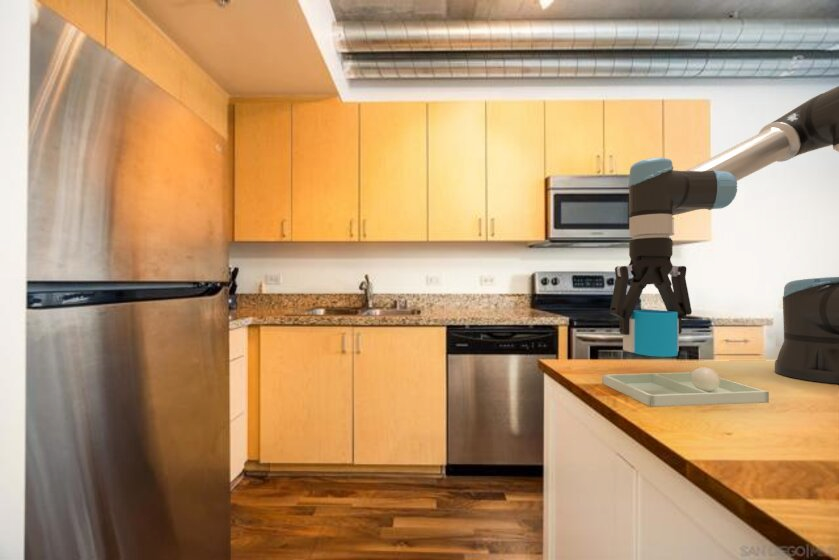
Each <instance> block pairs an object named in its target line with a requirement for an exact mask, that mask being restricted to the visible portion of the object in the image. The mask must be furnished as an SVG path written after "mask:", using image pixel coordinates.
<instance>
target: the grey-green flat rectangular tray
mask: <svg viewBox="0 0 839 560" xmlns="http://www.w3.org/2000/svg"><path fill="white" fill-rule="evenodd" d="M692 372H693V371H686V372H685V371H682V372H681V371H680V372H679V371H678V372H650V373H648V372H647V373H621V374H619V373H616V374H615V373H613V374H612V373H611V374H602V375H601V377H602V379H601V380H602V384H603V385H604V386H607V387H609V388H610V389H613V390H615V391H617V392H619V393H621V394H623V395H626V396H627V397H629V398H632V399H633V400H636V401H638V402H639V403H641V404H644V405H646V406H649V407H650V408H651V407H653V408H656V407H679V406H680V407H681V406H683V407H684V406H685V407H686V406H703V405H704V406H705V405H706V406H708V405H710V406H711V405H730V404H731V405H732V404H733V405H736V404H760V403H769V401H770V400H769V399H770V394H769V393H770V392H769V391H767V390H763V389H760V388H757V387H753V386H750V385H746V384H744V383H741V382H736V381H733V380H730V379H727V378H723V377H720V376H719V379H720V383H719V386H718V387H717V388H716V389H715V390H713V391H703V390H700V389H698V388H696V387H695V386H694V385H693V383H692V381H691V374H692Z"/></svg>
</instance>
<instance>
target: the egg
mask: <svg viewBox="0 0 839 560" xmlns="http://www.w3.org/2000/svg"><path fill="white" fill-rule="evenodd" d="M691 372H692V374H691V381H692V383H693V385H694V386H695V387H696V388H698V389H700V390H703V391H713V390H715V389H716V388H717V387H718V386H719V383H720V379H719V377H720V376H719V374H718V373H717V371H715V370H714V369H712V368H709V367H705V366H700V367H698V368H695V369H694V370H693V371H691Z"/></svg>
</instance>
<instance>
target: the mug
mask: <svg viewBox="0 0 839 560" xmlns="http://www.w3.org/2000/svg"><path fill="white" fill-rule="evenodd" d="M630 319H635V352H631V353H633V354H636V355H641V356H649V357H666V358H667V357H668V358H669V357H677V356H678V353H679V351H678V312H673V311H667V310H659V309H658V310H657V309H654V310H652V309H634V311H633V313H632V315H631V317H630Z"/></svg>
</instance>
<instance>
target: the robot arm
mask: <svg viewBox="0 0 839 560" xmlns="http://www.w3.org/2000/svg"><path fill="white" fill-rule="evenodd" d="M830 146H832V149H833V150H834V151H836V152H838V153H839V85H838V86H836V87H834V88H831V89H829V90H827V91H825V92H824V93H823V92H822V93H820V94H818V95H816V96H814V97H812V98H810V99H808V100H807V101H805V102H804V103H802V104H800V105H798V106H797V107H794V109H792V110H790V111H789V112H787V113H786V114H784V115H782V116H781V117H778V118H777V119H775V120H773V121H771V122H770V123H768V124H766V125H764V126H763V127H762V128H761V129H760V131H759V132H758V134H756V135H754V136H752V137H750V138H748V139H746V140H744V141H742V142H740V143H739V144H736V145H734V146H732V147H731V148H729V149H726V150H724V151H722V152H721V153H719V154H717V155H715V156H713V157H710V158H708V159H707V160H705V161H702V162H700V163H698V164H697V165H695V166H693V167H691V168H689V169H687V170H674V166H673V162H672V159H670V158H666V157H652V158H646V159H641V160H639V161H637V162H635V163H634V164H632V165H631V167H630V170H629V176H628V187H627V188H628V202H629V203H628V205H629V209H628V210H629V211H628V212H629V218H628V219H629V222H628V223H629V225H628V226H629V227H628V228H629V230H628V231H629V237H630V238H632V239H630V241H628V243H629V245H628V249H629V250H628V252H629V253H628V255H629V259H630V262H629V264H628V265H620V266H618V265H617V266H615V267H614V274H615V280H614V287H613V292H612V298H611V302H610V306H609V307H610V308H609V314H610V315H613V316H615V317H617V318H619V333H620V335H622V351H625V352H629V353H632V352H635V319H630V317H631V315H632V313H633V311H634V310H636V309H635V308H636V305H637V304H638V301H639V299H640V297H641V295H642V292H643V290H644V289H645V288H646V287H647V285H654V287H655V288H656V289H657V291H658V293H659V295H660V298H661V299H662V302H663V305H664V307H665V309H666V311H673V312H678V352H679V351H680V350H679V347H680V346H679V345H680V344H679V343H680V341H679V339H680V337H679V335H681V334H682V323H683V322H682V320H683V319H686V318H687V316H691V314H692V307H691V306H692V305H691V300H690V295H689V290H688V289H689V288H688V285H687V281H686V275H687V267H686V266H685V265H673V264H672V261H671V258H672V256H673V239H672V238H671V237H672V235H674V232H673V228H674V227H673V225H674V223H673V216H675V215H681V214H685V213H689V212H694V211H698V210H708V211H712V210H716V209H724V208H727V207H728V206H729V205H730V204H731V203H733V201H734V200H735V198H736V195H737V193H738V181H740V180H742V179H744V178H745V177H747V176H750V175H752V174H753V173H756V172H758V171H760V170H762V169H763V168H766V167H767V166H770V165H771V164H773V163H776V162H778V163H779V162H781V163H782V162H785V161H789V160H791V159H794V158H795V157H797V156H800V155H802V154H806V153H808V152H809V153H810V152H811V151H812V152H813V151H815V150H819V149H822V148H826V147H830ZM670 236H671V237H670ZM630 275H632V278H631V280H630V282H629V278H630ZM669 275H670V277H671V278H670V277H669ZM670 279H671V280H670ZM628 285H629V288H628ZM783 288H784V289H783V296H782V309H783V310H782V313H783V315H782V316H783V318H782V320H783V342H782V346H781V348H780V350H779V351H778V356H777V359H776V360H775V361H774V372H775V373H777V374H778V375H781V376H785V377H789V378H794V379H798V380H803V381H810V382H811V381H812V382H817V383H818V382H819V383H824V384H825V383H826V384H828V383H829V384H839V276H833V277H832V276H831V277H830V276H829V277H828V276H827V277H818V278H817V277H814V278H813V277H812V278H806V279H805V278H804V279H797V280H792V281H788V282H787V283H786V284H785V285H784V287H783Z"/></svg>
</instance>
